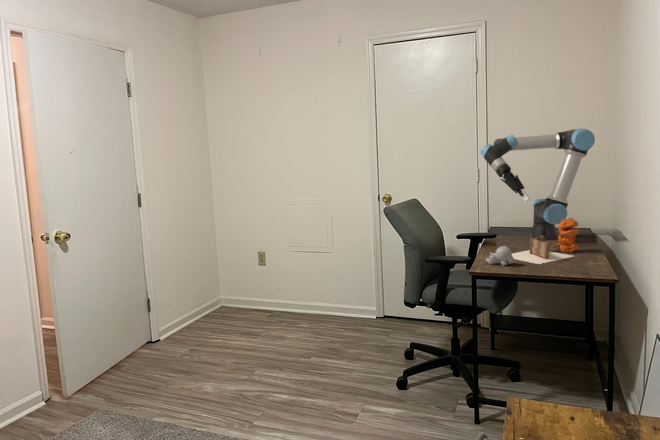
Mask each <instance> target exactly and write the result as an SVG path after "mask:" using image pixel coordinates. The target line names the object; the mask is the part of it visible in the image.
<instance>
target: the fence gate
mask: <svg viewBox="0 0 660 440" xmlns="http://www.w3.org/2000/svg"><path fill="white" fill-rule="evenodd" d="M550 246H551V245H550V241H545V242H542V241H539V240H536V239H533V246H532V253H534V254H536V255H539V256H542V257H544V258H549V251H550Z"/></svg>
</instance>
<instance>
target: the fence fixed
mask: <svg viewBox="0 0 660 440" xmlns="http://www.w3.org/2000/svg"><path fill="white" fill-rule="evenodd" d="M533 239H536V240H539V241H542V242H546V239H545V236H544V235H541V237H536V238H531V237H529V250H530V254H534V253H532V246H533Z"/></svg>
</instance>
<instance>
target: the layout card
mask: <svg viewBox="0 0 660 440" xmlns="http://www.w3.org/2000/svg"><path fill="white" fill-rule="evenodd" d="M512 256H513V258H514V260H517V261H522V262H527V263H530V264H536V265H543V263H544V264H548V263H552V262H556V261H557V262H558V261H561V260H565V259H570V258H574V257H575V255H572V254H568V253H562V252H561V253H560V252H557V251H556V252H555V251H551V250H549V258H544V257H542V256H539V255H536V254H530V249H528V250H523V251H518V252H513V253H512Z"/></svg>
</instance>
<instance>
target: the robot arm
mask: <svg viewBox="0 0 660 440" xmlns="http://www.w3.org/2000/svg"><path fill="white" fill-rule="evenodd" d="M595 141H596V138H595V135H594V133H593V132H592V131H591V130H590V129H587V128H575V129H574V128H573V129H569V130H565V131H558V132H555V133H554V134H545V135H544V134H543V135H529V136H518V137H517V136H515V135H514V134H509V135H507V136H505V137H504V138H496V139H495V140H494V141H493V142H492V144H491V143H488V144H485V145H484V146H483V147H481V149H480V155H481V156H482V158H483V159H484V160H485V161H486V162H487V164H488V165H489V166H490V167H491V168H492V170H493V171H494V172H495V173H496V175H497V176H498V177H499V178H501V179H500V181H502V182H503V183H505V184H506V186H507V187H509V188H510V190H512V191H513V192H514V193H515V194H517V193H518V194H519V196H520V198H521V199H522V200H523V201H524V202H526V203H527V202H529V200H530V199H531V197H530V195H528V194H527V192H526V191H525V190H524V189H525V186H524V184H523V183H522V181H521V179H520V178H519V176H518V174H516V175H515V174H514V173H513V172H511V171H512V168H511V166H510V165H509V164H508V163H507V162H506V161H505V159H504V158H503V157H502V156H504V155H506V154H507V153H509V152H513V151H526V150H527V151H528V150H540V149H541V150H542V149H543V150H544V149H554V150H563V151H564V153H565V155H564V157H563V161H562V163H561V166H560V169H559V171H558V175H557V177H556V180H555V182H554V185H553V187H552V191H551V193H550V195H549V196H546V198H537V199H534V201H533V221H532V222H533V223H532V227H531V229H530V232H529V238H536V237H541V235H544V236H545V241H546V240H547V241H548V240H557V239H558V232H557V229H556V225H559V224H560V222H561V220H563V219H564V220H565V219H567V217H568V205H569V202H568V197H569V195H570V191H571V189H572V185H573V183H574V181H575V178H576V175H577V172H578V170H579V167H580V164H581V161H582V159H583V158H584V157H586V156H587V154H588V152H589V150H590V149H591V148H593V146H594V144H595V143H596V142H595Z"/></svg>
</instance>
